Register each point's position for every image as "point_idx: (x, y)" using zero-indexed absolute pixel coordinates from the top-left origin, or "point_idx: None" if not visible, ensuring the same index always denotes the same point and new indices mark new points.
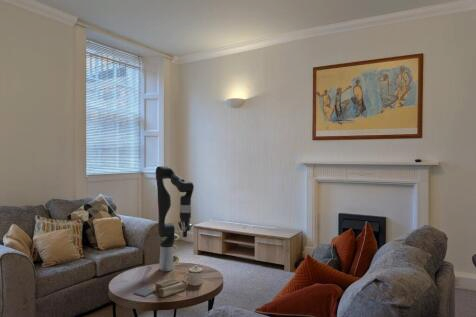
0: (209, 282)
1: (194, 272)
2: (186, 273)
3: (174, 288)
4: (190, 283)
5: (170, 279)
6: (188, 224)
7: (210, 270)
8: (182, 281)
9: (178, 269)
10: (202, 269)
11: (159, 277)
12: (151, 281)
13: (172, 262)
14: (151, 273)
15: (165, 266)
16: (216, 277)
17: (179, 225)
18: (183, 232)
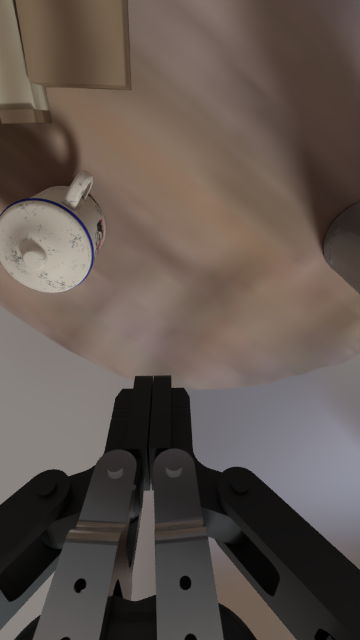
0: None
1: (5, 212)
2: (70, 185)
3: None
4: (58, 186)
5: (102, 51)
6: None
7: None
8: (27, 109)
9: (301, 286)
10: (21, 282)
11: (300, 116)
12: (289, 12)
13: (344, 274)
14: None
15: (356, 220)
16: (75, 344)
17: (342, 579)
18: (152, 434)
